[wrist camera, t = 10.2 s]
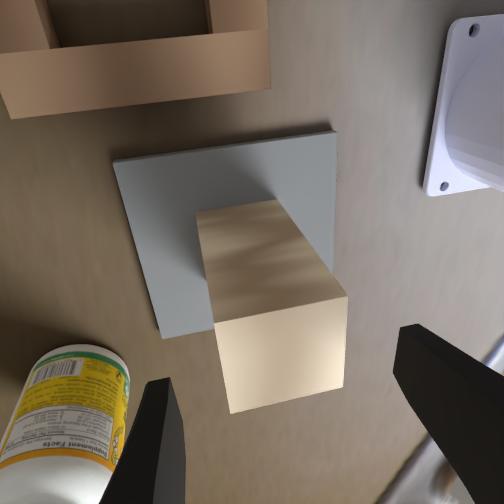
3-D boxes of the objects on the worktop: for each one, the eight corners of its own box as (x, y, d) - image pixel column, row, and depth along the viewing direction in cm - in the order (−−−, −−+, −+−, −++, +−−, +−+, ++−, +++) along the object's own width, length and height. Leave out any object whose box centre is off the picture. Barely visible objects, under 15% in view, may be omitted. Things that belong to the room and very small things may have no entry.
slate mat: (333, 130, 17) (337, 132, 16) (328, 299, 22) (331, 304, 22) (114, 160, 16) (112, 163, 15) (162, 333, 21) (162, 339, 20)
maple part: (277, 199, 17) (348, 296, 11) (281, 268, 19) (342, 386, 13) (194, 212, 17) (214, 323, 10) (207, 282, 19) (230, 414, 12)
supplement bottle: (59, 326, 19) (-21, 536, 11) (149, 361, 21) (138, 554, 13) (13, 391, 20) (-89, 619, 12) (102, 417, 23) (66, 622, 15)
